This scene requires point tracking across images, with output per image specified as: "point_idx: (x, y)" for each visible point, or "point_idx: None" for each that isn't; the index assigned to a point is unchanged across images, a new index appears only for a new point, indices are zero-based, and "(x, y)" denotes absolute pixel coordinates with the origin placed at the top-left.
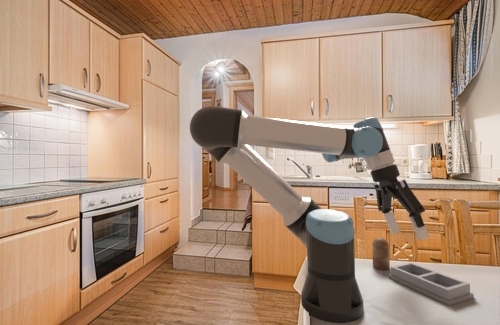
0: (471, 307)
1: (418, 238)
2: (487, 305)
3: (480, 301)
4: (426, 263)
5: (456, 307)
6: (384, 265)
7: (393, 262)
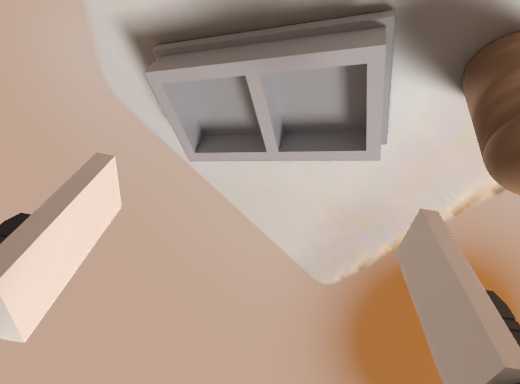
0: None
1: (98, 159)
2: (169, 134)
3: None
4: None
5: None
6: (475, 72)
7: None
